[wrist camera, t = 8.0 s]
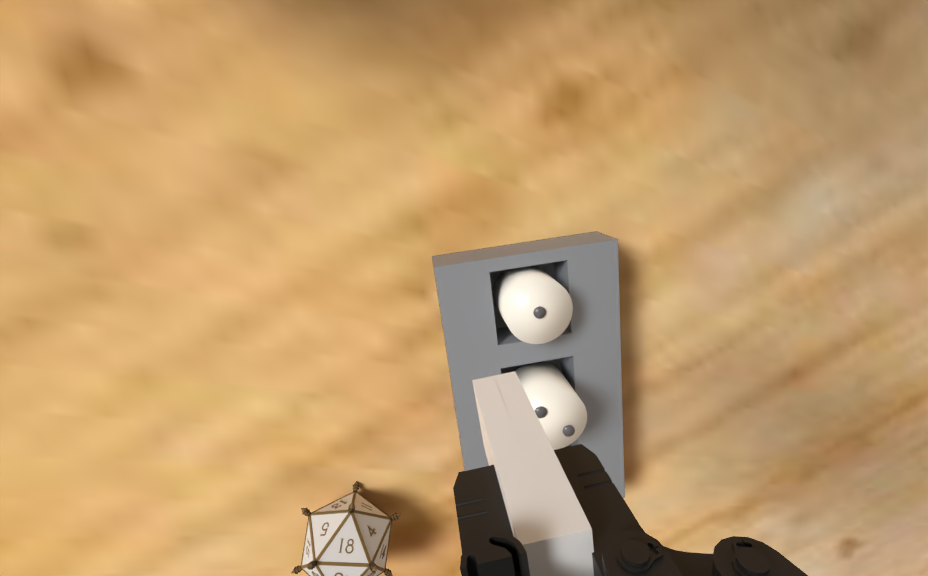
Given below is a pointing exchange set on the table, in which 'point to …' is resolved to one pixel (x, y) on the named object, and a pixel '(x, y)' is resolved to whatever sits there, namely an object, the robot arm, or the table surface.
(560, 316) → the button
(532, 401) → the button
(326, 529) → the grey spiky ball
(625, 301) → the table surface
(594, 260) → the button board
